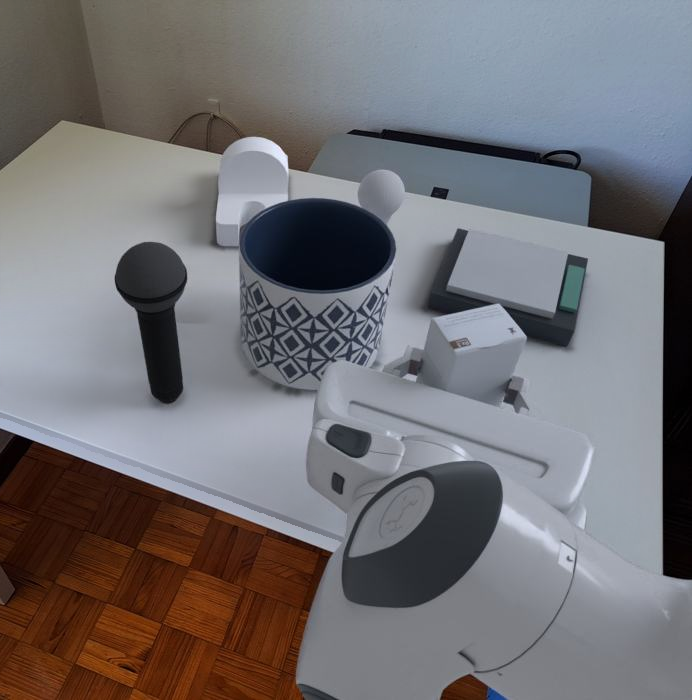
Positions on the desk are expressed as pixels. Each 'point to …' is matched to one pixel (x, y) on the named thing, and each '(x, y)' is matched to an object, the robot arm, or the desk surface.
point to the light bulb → (381, 193)
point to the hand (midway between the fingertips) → (465, 366)
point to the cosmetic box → (472, 353)
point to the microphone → (155, 311)
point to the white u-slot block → (248, 184)
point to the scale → (512, 283)
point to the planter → (313, 288)
